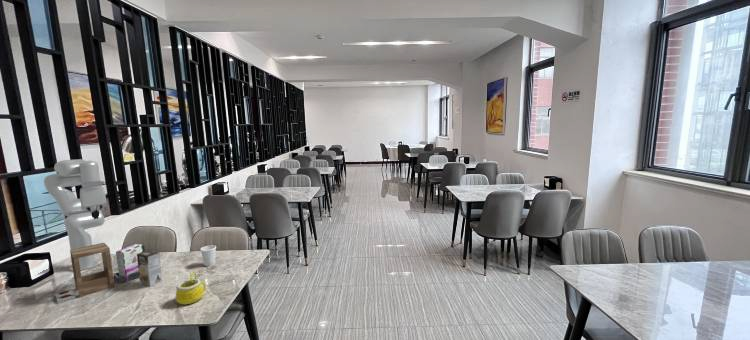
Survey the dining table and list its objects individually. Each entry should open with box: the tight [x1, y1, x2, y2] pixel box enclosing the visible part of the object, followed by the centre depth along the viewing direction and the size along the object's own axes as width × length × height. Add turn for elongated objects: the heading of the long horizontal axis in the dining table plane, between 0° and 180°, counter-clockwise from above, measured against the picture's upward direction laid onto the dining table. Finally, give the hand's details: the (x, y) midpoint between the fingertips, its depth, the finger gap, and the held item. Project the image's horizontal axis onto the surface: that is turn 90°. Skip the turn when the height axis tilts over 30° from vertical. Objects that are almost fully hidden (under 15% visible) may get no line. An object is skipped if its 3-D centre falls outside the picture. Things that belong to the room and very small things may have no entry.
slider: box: [113, 244, 146, 284], centre depth 177 cm, size 19×16×12 cm
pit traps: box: [54, 288, 76, 305], centre depth 154 cm, size 12×6×1 cm, turn 49°
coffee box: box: [137, 249, 163, 287], centre depth 166 cm, size 9×6×16 cm
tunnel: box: [69, 242, 115, 298], centre depth 161 cm, size 13×13×21 cm
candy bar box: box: [115, 243, 143, 283], centre depth 173 cm, size 11×5×16 cm, turn 168°
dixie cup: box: [199, 245, 217, 267], centre depth 188 cm, size 8×8×10 cm
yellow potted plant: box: [175, 269, 207, 305], centre depth 148 cm, size 13×11×12 cm
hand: (96, 218), depth 174 cm, fingers closed
